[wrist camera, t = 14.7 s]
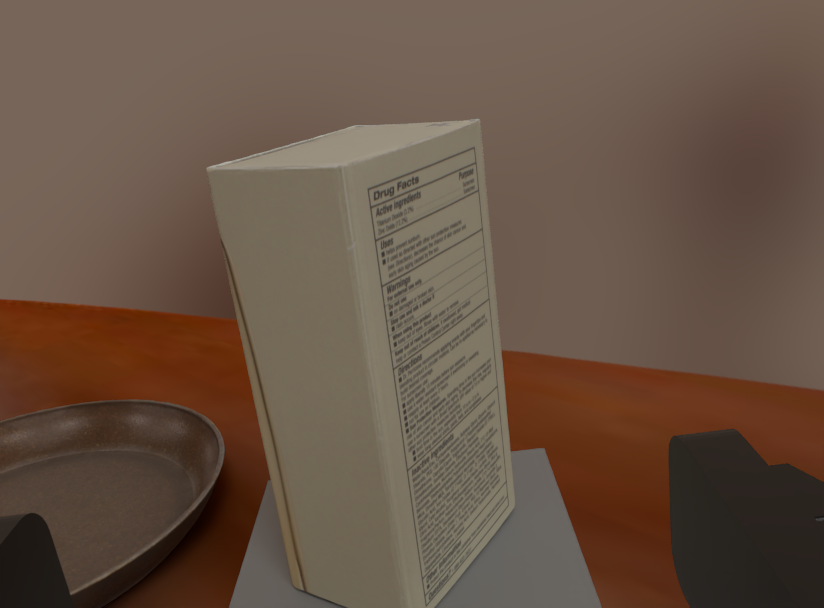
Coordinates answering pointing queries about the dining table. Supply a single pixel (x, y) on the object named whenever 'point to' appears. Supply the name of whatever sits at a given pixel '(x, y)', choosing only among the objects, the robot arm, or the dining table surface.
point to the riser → (483, 579)
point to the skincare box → (373, 354)
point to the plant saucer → (110, 485)
